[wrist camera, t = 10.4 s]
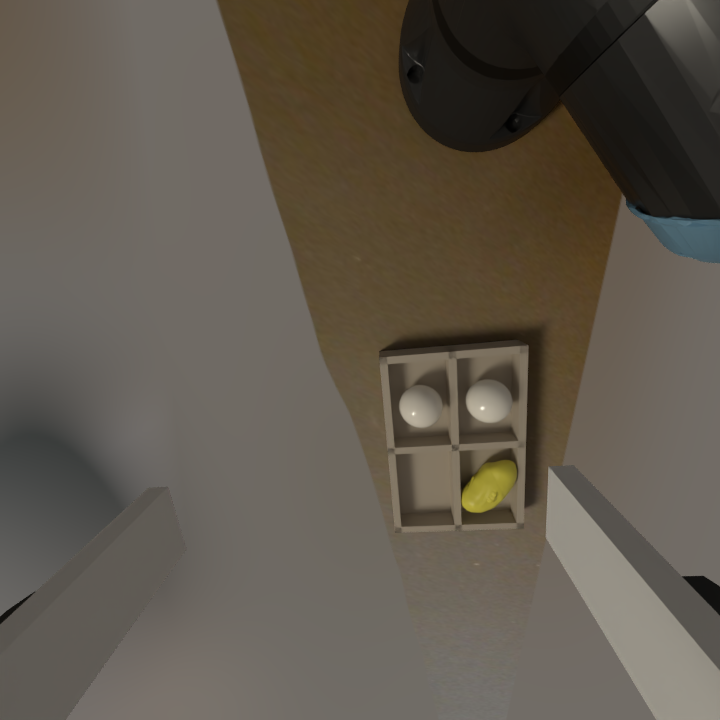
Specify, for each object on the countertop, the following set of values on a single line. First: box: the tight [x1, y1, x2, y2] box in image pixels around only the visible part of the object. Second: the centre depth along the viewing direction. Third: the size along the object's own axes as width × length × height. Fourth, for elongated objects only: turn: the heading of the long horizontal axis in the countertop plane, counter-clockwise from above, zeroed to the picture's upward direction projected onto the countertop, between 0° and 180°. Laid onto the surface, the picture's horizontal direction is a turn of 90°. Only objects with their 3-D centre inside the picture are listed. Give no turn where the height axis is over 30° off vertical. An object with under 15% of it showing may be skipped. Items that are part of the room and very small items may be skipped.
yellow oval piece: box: [461, 460, 517, 513], centre depth 38 cm, size 4×8×4 cm, turn 139°
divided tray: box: [379, 340, 529, 533], centre depth 38 cm, size 22×15×3 cm
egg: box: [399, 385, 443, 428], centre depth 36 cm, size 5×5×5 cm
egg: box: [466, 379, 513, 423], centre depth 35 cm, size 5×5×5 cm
